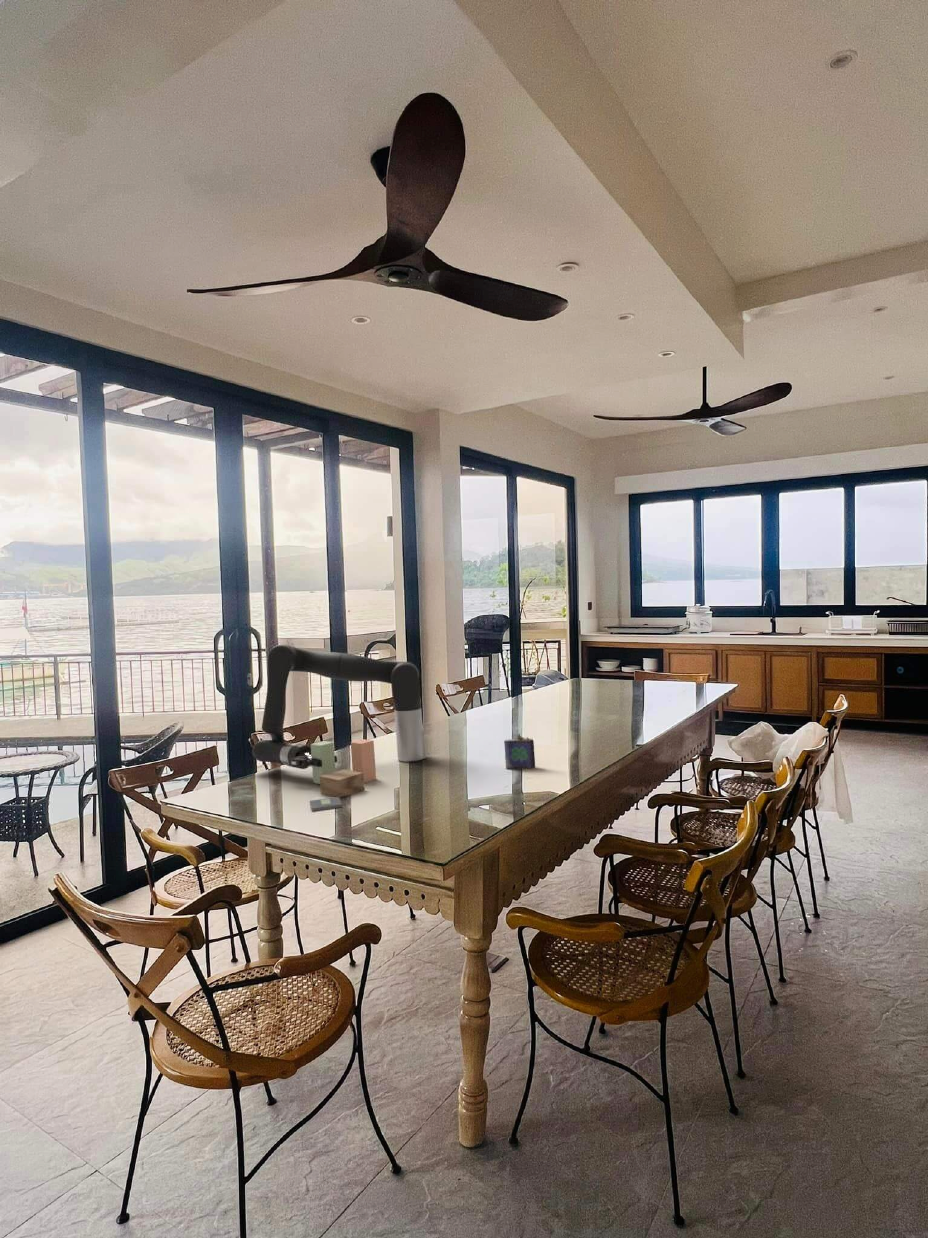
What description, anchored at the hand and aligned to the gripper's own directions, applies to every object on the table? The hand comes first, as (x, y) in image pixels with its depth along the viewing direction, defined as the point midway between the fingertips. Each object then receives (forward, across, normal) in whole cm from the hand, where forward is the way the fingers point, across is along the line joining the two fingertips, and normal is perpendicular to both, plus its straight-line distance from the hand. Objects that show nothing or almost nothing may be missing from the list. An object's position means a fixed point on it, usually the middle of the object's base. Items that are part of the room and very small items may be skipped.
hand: (328, 761), depth 218 cm
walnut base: (+10, -3, +7) cm, 13 cm away
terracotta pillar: (+6, +9, +7) cm, 13 cm away
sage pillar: (-3, 0, +7) cm, 7 cm away
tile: (+18, -15, +7) cm, 24 cm away
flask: (+41, +43, +7) cm, 59 cm away
